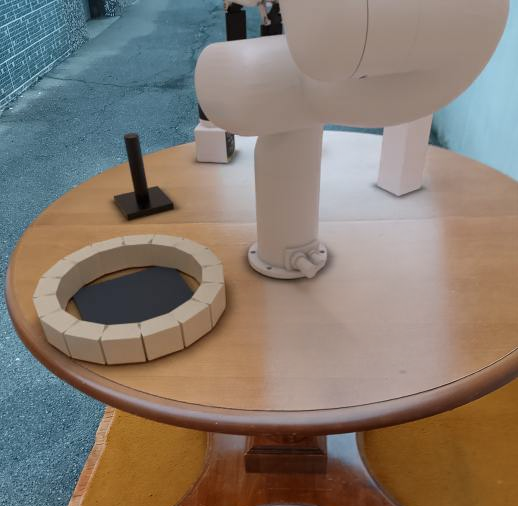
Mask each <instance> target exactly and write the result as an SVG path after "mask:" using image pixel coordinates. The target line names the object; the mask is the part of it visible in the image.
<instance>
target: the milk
mask: <svg viewBox="0 0 518 506" xmlns="http://www.w3.org/2000/svg"><path fill="white" fill-rule="evenodd" d="M433 118H434V113H432V114H430V115H428V116H426V117H423V118H421V119H418V120H415V121H412V122H409V123H406V124H402V125H397V126H391V127H383V131H382V132H383V133H382V140H381V141H382V142H381V149H380V157H379V165H378V166H379V168H378V174H377V184H376V185H377V187H379V188H380V189H382V190H385V191H387V192H389V193H390V194H393V195H395V196H397V197H400V196H403V195H405V194H408V193H409V194H410V193H411V192H414V191H417V190H420V189H421V187H422V182H423V176H424V170H425V165H426V160H427V159H426V158H427V153H428V147H429V141H430V135H431V129H432V122H433Z"/></svg>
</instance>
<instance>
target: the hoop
mask: <svg viewBox="0 0 518 506" xmlns="http://www.w3.org/2000/svg"><path fill="white" fill-rule="evenodd" d="M150 266H152V267H156V266H161V267H168V268H175V269H176V270H177V271H180V272H182V273H185V274H187V275H189V276H191V277H193V278H195V280H196V281H197V282H198V283H199V286H198V288H197V289H196V291H195V292H194V295H193V297H192V298H191V299H190V300H188V301H187V302H185V303H184V304H182V305H181V306H179V307H178V308H176V309H174V310H173V311H171V312H170V313H168V314H165V315H162V316H159V317H156V318H152V319H149V320H146V321H143V322H140V323H130V324H117V325H103V324H97V323H92V322H86V321H83V320H80V319H79V318H77V317H75V316H73V315H72V314H70V313H69V312H67V311H66V309H67V306H68V304H69V301H70V300H71V299H72V298H73V295H74V294H75V293H76V292H77V291H78V290H79V289H80V288H83V287H84V286H85V285H87V284H89V283H91V282H92V281H94V280H96V279H99V278H101V277H102V276H104V275H107V274H110V273H114V272H117V271H121V270H125V269H128V268H138V267H150ZM225 283H226V282H225V272H224V265H223V262H222V261H221V259H219V257H218V256H217V255H216V254H215V253H214V252H213V251H212V250H211V249H210V248H209V247H208V246H206V245H203V244H200V243H199V242H196V241H194V240H191V239H189V238H187V237H185V238H184V237H181V236H174V235H166V234H159V233H155V234H154V233H148V234H135V235H123V236H117V237H114V238H110V239H106V240H103V241H98V242H94V243H91V244H90V245H89V244H88V245H86V246H84V247H82V248H79V249H78V250H76V251H74V252H72V253H70V254H67V255H66V256H64V257H62V259H59V260H58V261H56V263H54V265H52V266H51V267H50V268H49V269H48V270H47V271H46V272H45V273H44V274H42V275H41V277H39V281H38V283H37V285H36V288H35V290H34V292H33V295H32V302H33V306H34V308H35V312H36V314H37V317H38V319H39V322H40V325H41V327H42V330H43V333H44V335H45V338H46V340H47V342H48V343H49V344H50V345H52V346H53V347H55V348H56V349H57V350H59V351H60V352H62V353H64V354H65V355H66V356H68V357H69V358H70V357H71V358H72V359H76V360H80V361H86V362H90V363H94V364H95V363H96V364H101V365H106V364H107V365H119V364H131V363H143V362H146V361H147V360H148V361H153V360H155V359H158V358H160V357H163V356H166V355H170V354H173V353H175V352H177V351H181V350H184V349H185V348H187V347H189V346H190V345H192V344H193V343H195V342H196V341H197V340H199V339H200V338H202V337H203V336H205V335H206V334H208V333H209V332H210V331H212V329H213V328H215V326H216V324H217V322H218V321H219V319H220V317H221V316H222V314H223V313H224V311H225V309H226V308H227V307H226V306H227V298H226V285H225Z"/></svg>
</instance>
